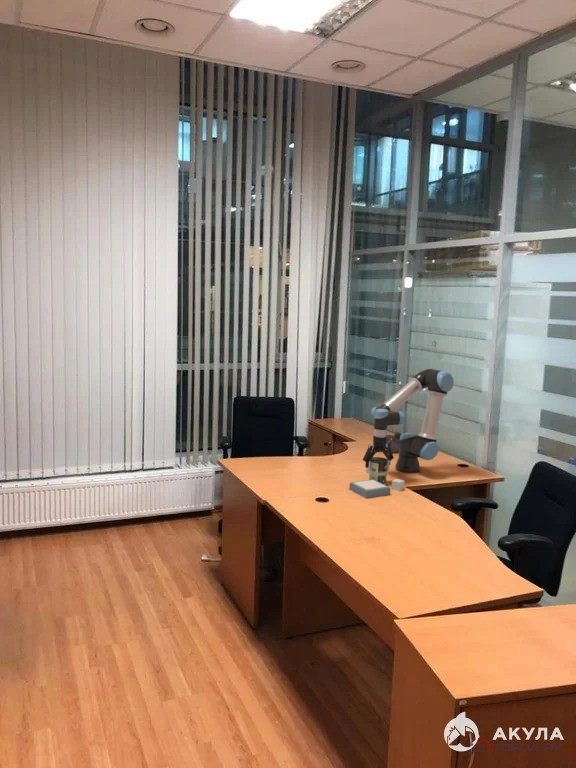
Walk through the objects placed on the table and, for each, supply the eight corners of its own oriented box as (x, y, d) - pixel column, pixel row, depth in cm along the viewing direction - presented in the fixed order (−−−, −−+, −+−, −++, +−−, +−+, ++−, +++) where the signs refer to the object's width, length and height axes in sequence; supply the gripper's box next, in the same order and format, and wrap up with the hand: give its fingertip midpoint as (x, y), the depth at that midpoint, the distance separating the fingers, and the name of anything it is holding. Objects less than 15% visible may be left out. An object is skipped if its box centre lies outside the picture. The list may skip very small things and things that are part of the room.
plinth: (372, 486, 356) (373, 478, 355) (390, 494, 342) (390, 487, 341) (349, 489, 348) (349, 482, 347) (365, 498, 334) (366, 490, 334)
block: (396, 487, 355) (396, 478, 354) (404, 489, 352) (404, 480, 351) (391, 489, 351) (392, 480, 351) (399, 491, 348) (399, 482, 347)
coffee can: (386, 481, 366) (388, 457, 364) (385, 486, 356) (387, 462, 354) (369, 479, 368) (370, 456, 366) (367, 484, 358) (369, 460, 356)
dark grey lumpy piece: (381, 453, 424) (410, 455, 426) (383, 432, 423) (412, 434, 425) (376, 450, 438) (404, 452, 439) (378, 429, 437) (406, 431, 439)
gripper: (393, 433, 367) (390, 468, 370) (358, 435, 355) (355, 472, 358) (401, 436, 360) (398, 471, 363) (365, 438, 348) (363, 475, 352)
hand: (377, 471), depth 361 cm, fingers open, 13 cm apart
